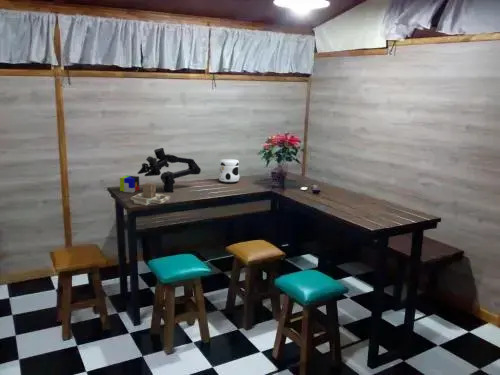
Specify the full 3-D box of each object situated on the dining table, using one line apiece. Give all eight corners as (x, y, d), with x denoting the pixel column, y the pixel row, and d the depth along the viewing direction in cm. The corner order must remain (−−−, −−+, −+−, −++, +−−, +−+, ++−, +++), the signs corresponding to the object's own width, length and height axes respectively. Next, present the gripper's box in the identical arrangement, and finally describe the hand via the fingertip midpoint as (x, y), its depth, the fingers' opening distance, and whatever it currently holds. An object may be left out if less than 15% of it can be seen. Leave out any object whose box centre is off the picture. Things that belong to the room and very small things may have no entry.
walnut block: (147, 195, 297) (147, 182, 295) (155, 196, 295) (155, 183, 293) (143, 197, 291) (142, 184, 289) (151, 198, 290) (151, 185, 288)
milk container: (214, 181, 360) (214, 159, 356) (230, 178, 372) (230, 158, 368) (227, 185, 348) (228, 162, 344) (243, 182, 359) (244, 161, 356)
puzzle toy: (133, 192, 312) (132, 179, 310) (120, 191, 314) (119, 177, 311) (139, 189, 321) (139, 176, 319) (126, 188, 323) (126, 175, 321)
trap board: (143, 194, 307) (143, 189, 307) (172, 197, 301) (172, 192, 300) (125, 202, 285) (125, 196, 285) (155, 206, 279) (155, 200, 278)
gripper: (148, 152, 312) (130, 162, 304) (162, 156, 299) (144, 166, 291) (153, 166, 317) (135, 176, 309) (168, 170, 304) (149, 180, 296)
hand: (141, 174), depth 301 cm, fingers open, 9 cm apart
